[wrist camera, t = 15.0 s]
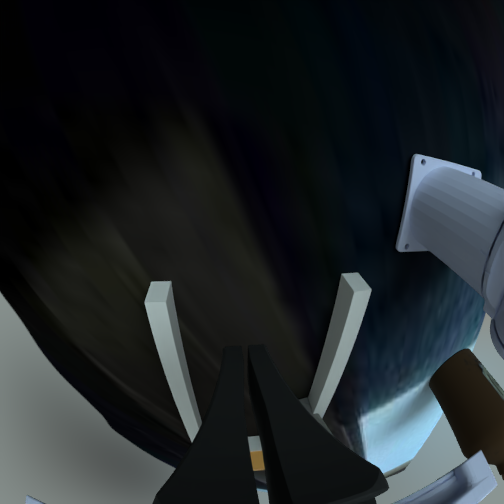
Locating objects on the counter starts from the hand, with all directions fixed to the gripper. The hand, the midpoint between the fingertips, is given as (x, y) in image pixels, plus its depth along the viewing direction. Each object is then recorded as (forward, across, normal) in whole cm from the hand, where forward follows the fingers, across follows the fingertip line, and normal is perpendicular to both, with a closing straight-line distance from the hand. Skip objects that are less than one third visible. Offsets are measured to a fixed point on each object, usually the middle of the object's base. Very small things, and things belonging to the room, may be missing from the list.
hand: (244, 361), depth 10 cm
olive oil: (+10, -36, +23) cm, 44 cm away
